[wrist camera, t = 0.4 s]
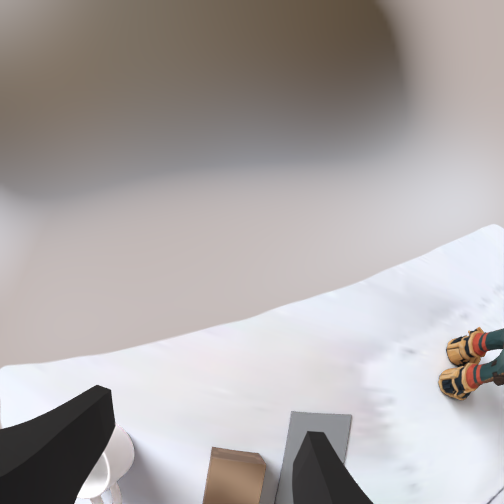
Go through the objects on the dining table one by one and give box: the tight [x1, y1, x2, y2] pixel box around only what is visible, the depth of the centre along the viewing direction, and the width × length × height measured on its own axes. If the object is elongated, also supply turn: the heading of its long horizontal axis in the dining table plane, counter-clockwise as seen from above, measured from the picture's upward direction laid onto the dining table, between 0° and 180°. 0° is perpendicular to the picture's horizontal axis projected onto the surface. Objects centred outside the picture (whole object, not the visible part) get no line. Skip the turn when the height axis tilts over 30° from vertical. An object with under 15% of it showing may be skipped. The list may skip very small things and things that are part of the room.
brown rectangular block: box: [203, 447, 266, 504], centre depth 25 cm, size 13×6×6 cm, turn 171°
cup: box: [77, 423, 135, 504], centre depth 23 cm, size 8×12×10 cm
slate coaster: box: [275, 411, 351, 504], centre depth 30 cm, size 15×8×1 cm, turn 171°
